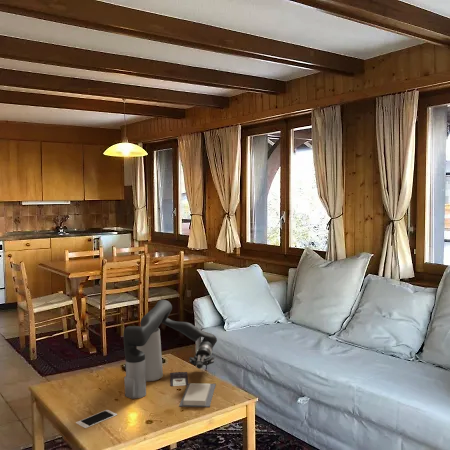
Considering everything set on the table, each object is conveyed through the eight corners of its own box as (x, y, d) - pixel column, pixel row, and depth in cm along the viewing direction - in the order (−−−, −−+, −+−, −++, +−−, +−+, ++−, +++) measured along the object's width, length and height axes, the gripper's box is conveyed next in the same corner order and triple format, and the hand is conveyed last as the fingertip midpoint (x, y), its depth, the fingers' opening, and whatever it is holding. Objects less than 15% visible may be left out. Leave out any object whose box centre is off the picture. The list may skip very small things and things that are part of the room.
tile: (190, 383, 244) (183, 400, 224) (210, 383, 243) (205, 400, 223) (190, 388, 244) (183, 405, 224) (210, 388, 243) (205, 406, 224)
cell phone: (75, 423, 211) (75, 422, 211) (107, 410, 223) (107, 409, 223) (85, 429, 206) (85, 427, 206) (117, 415, 217) (117, 414, 217)
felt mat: (209, 407, 223) (209, 406, 223) (179, 406, 225) (179, 405, 225) (215, 384, 249) (215, 383, 249) (188, 384, 250) (188, 383, 250)
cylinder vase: (142, 373, 267) (139, 327, 265) (165, 372, 266) (161, 326, 264) (136, 382, 254) (132, 334, 253) (160, 381, 253) (156, 333, 252)
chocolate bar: (187, 371, 266) (188, 384, 248) (187, 373, 266) (188, 386, 248) (170, 372, 265) (170, 386, 247) (170, 374, 265) (170, 387, 247)
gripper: (216, 361, 256) (212, 374, 239) (191, 360, 257) (185, 373, 240) (216, 346, 255) (212, 359, 238) (191, 346, 257) (185, 358, 240)
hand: (198, 366), depth 239 cm, fingers closed
